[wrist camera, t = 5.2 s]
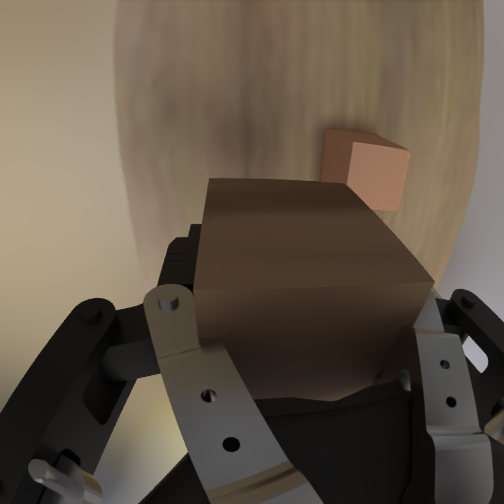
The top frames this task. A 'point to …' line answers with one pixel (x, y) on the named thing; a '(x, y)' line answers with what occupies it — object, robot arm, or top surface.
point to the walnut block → (302, 286)
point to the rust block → (366, 167)
